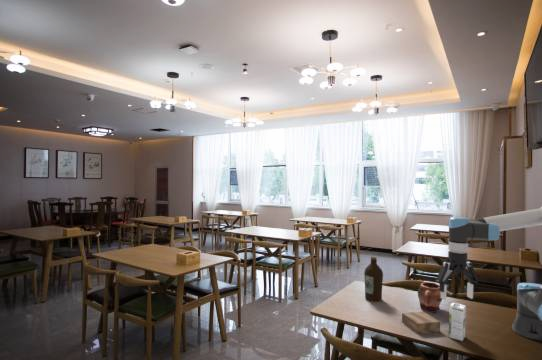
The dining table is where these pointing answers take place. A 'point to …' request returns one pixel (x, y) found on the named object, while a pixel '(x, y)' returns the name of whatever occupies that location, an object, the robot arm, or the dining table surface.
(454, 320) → the syrup box
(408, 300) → the dining table surface
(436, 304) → the decorative planter
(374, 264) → the olive oil
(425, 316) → the walnut block
